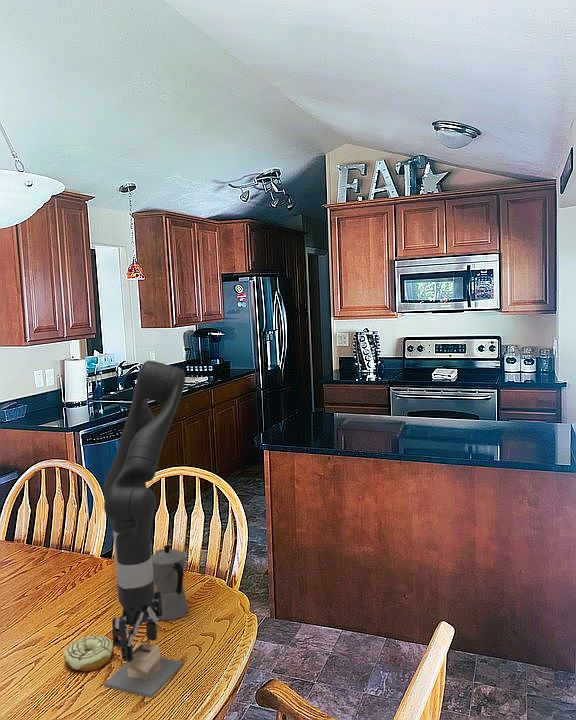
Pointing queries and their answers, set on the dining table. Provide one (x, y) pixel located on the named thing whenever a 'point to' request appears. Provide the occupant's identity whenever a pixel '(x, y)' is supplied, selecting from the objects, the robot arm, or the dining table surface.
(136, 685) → the slate coaster
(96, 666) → the decorated donut
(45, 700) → the dining table surface
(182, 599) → the coffeepot
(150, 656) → the letter block
